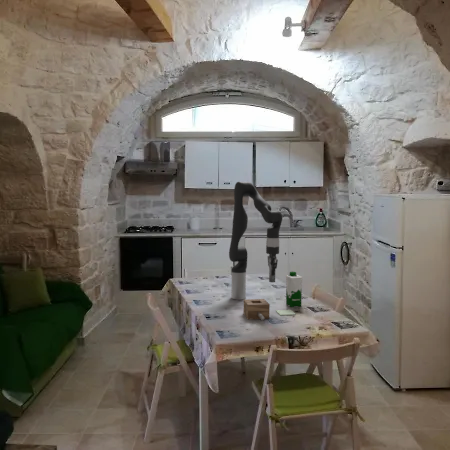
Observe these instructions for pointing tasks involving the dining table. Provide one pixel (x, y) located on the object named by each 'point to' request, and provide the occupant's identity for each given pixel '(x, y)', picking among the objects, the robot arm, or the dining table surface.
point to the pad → (285, 312)
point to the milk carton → (293, 289)
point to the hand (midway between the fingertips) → (272, 274)
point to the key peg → (271, 278)
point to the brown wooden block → (256, 309)
